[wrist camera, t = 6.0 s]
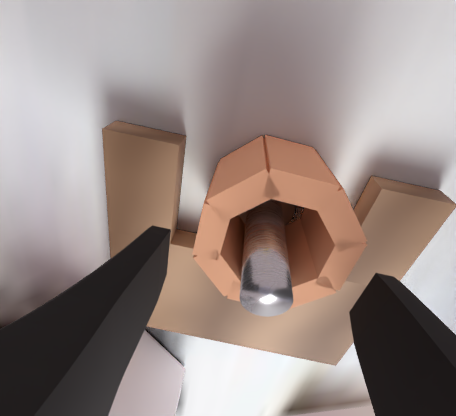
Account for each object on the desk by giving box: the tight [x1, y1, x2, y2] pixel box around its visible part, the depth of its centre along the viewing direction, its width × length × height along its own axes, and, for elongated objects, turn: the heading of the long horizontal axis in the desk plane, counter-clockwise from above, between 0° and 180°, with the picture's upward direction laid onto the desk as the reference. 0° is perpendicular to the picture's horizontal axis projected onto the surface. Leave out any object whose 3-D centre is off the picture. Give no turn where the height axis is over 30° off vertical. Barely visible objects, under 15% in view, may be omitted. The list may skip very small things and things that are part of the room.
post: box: [239, 199, 295, 317], centre depth 11 cm, size 3×3×6 cm
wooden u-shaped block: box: [102, 121, 456, 366], centre depth 14 cm, size 14×12×1 cm
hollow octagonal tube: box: [192, 135, 367, 309], centre depth 11 cm, size 5×5×4 cm
